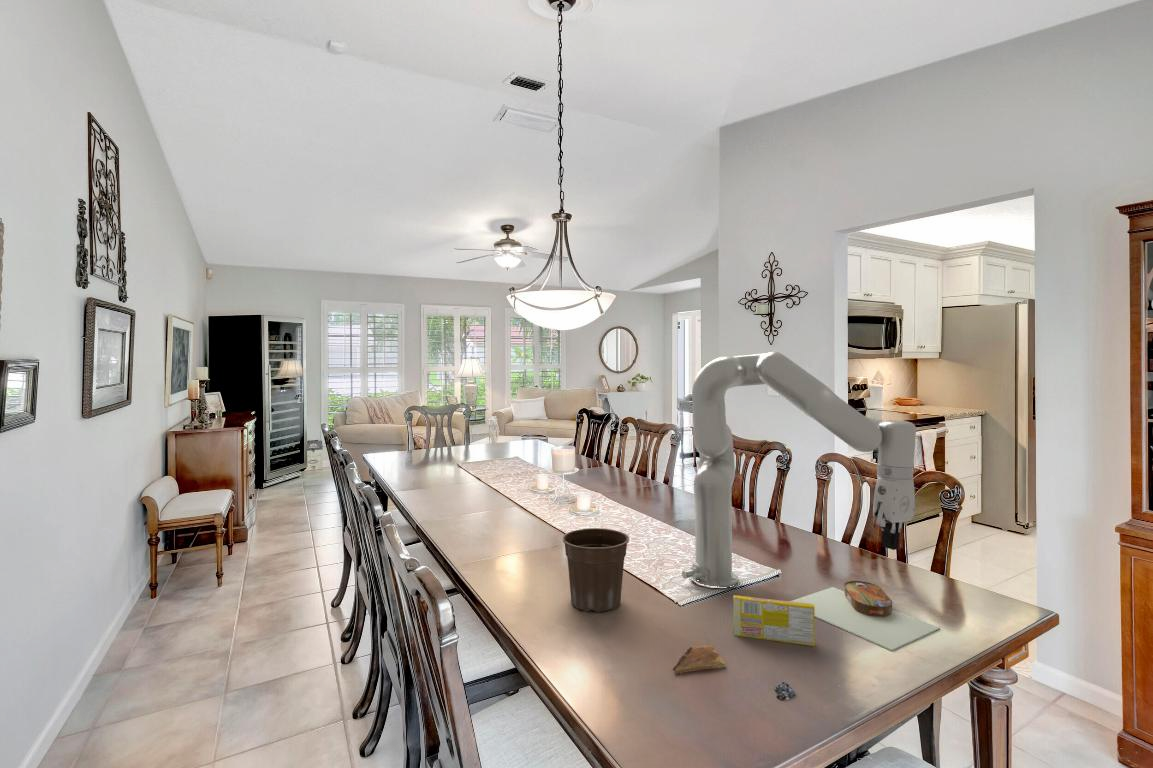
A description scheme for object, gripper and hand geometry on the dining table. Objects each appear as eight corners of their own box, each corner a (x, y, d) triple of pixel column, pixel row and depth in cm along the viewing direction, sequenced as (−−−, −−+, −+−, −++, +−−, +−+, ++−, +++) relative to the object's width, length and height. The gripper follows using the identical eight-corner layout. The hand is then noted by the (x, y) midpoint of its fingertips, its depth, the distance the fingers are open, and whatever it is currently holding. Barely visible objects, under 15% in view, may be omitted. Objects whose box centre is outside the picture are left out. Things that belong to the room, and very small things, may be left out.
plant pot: (595, 583, 150) (594, 523, 149) (643, 601, 138) (642, 536, 138) (549, 602, 138) (548, 537, 138) (597, 623, 127) (596, 552, 126)
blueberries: (760, 704, 98) (760, 694, 98) (762, 676, 105) (762, 667, 105) (802, 713, 95) (802, 703, 95) (801, 684, 103) (801, 674, 103)
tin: (898, 607, 127) (857, 602, 128) (896, 621, 127) (856, 615, 128) (876, 581, 141) (840, 577, 143) (875, 594, 141) (839, 589, 143)
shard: (672, 677, 106) (672, 667, 106) (658, 656, 113) (658, 647, 113) (726, 670, 108) (726, 661, 108) (709, 651, 115) (709, 642, 115)
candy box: (814, 642, 117) (814, 603, 117) (815, 647, 115) (815, 607, 115) (733, 631, 123) (733, 593, 122) (733, 635, 121) (733, 597, 120)
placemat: (891, 651, 113) (891, 649, 113) (785, 604, 136) (785, 602, 136) (940, 628, 122) (940, 627, 122) (832, 588, 145) (832, 587, 145)
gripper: (892, 478, 128) (887, 557, 129) (928, 473, 135) (923, 548, 136) (861, 471, 134) (856, 547, 135) (897, 467, 142) (892, 538, 143)
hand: (890, 547), depth 136 cm, fingers closed
